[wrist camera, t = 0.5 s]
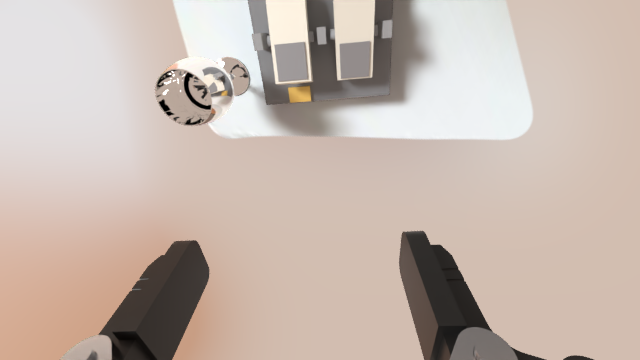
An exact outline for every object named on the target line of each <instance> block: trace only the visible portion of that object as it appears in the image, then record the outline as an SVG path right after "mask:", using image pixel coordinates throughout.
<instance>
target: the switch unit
mask: <svg viewBox="0 0 640 360" xmlns="http://www.w3.org/2000/svg"><path fill="white" fill-rule="evenodd" d="M306 1H307V13H308V26H309V31H313V35H314V42H310V50H311V63H312V75H313V82H308V83H297V84H285V85H277V84H276V83H275V75H274V66H273V58H272V50H271V46H268V44H267V36H269V35H270V33H269V25H268V16H267V8H266V0H248V4H249V10H250V15H251V21H252V26H253V32H254V34H252V38H253V43H254V49H255V51H257V54H258V59H259V65H260V70H261V76H262V81H263V87H264V92H265V98H266V103H267V105H270V104H283V103H285V104H287V103H299V102H311V101H323V100H336V99H348V98H360V97H371V96H380V95H389V90H390V63H391V38H392V22H393V20H392V9H393V0H375V16H374V25H378V35H377V36H374V44H373V71H372V77H371V78H360V79H348V80H337V68H336V48H335V40H331V39H330V29H335V28H334V8H333V0H306Z"/></svg>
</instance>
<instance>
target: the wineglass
mask: <svg viewBox="0 0 640 360" xmlns="http://www.w3.org/2000/svg"><path fill="white" fill-rule="evenodd" d="M248 85H249V74H248V71H247V69H246V67H245V66H244V65H243V63H241V62H240V61H239V60H237V59H235V58H233V57H223V58H221V59H219V60H218V61H217V62H215V61H213V60H210V59H207V58H203V57H188V58H185V59H181V60H179V61H177V62H176V63H174V64H172V65H171V66H170V67H168V68H167V69H166V70H165V71H164V72H163V73H162V74H161V76H160V77H159V78H158V80H157V82H156V87H155V94H156V98H157V102H158V104H159V106H160V108H161V109H162V111H163V112H164V113H165V114H166V115H167V116H168V117H169V118H171V119H172V120H173V121H175V122H177V123H179V124H181V125H185V126H197V125H202V124H208V123H211V122H214V121H216V120H218V119H220V118H221V117H222V116H224V115H225V114H226V113H227V112H228V110H229V109H230V107H231V105H232V103H233V100H234V96H237V95H240V94H242V93H243V92H245V90H246V89H247V87H248Z"/></svg>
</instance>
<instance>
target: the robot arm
mask: <svg viewBox="0 0 640 360" xmlns="http://www.w3.org/2000/svg"><path fill="white" fill-rule="evenodd" d="M399 266H400V273H401V278H402V281H403V285H404V289H405V292H406V296H407V299H408V303H409V306H410V310H411V313H412V317H413V321H414V324H415V328H416V331H417V335H418V338H419V342H420V345H421V349H422V353H423V356H424V360H545V359H542V358H538V357H535V356H532V355H528V354H525V353H522V352H520V351H517V350H515V349H513V348H512V347H510V346H509V345H508V343H507V342H506V341H504V340H503V339H502V338H501V337H499V336H498V335H497V334H495V333H493V332H492V330H491V329H490V327H489V326H488V324H487V322H486V320H485V318H484V317H483V315H482V313H481V311H480V309H479V307H478V305H477V303H476V301H475V299H474V297H473V295H472V293H471V291H470V290H469V288H468V286H467V284H466V282H464V278H463V276H462V274H461V272H460V271H459V270H458V266H457V265H456V263H455V261H454V259H453V257H452V255H451V254H450V253H449V252H448V251H446V250H445V249H444V248H443V247H442V246H441V245H430V242H429V240H428V238H427V236H426V234H425V232H424V231H412V232H403V233H402V238H401V248H400V258H399ZM208 279H209V267H208V264H207V262H206V260H205V257H204V255H203V253H202V250H201V248H200V246H199V244H198V242H197V241H194V240H193V241H176V242H174V243H173V244H172V245H171V247H170V248H169V249H168V251H167V252H166V254H165V255H162V256H160V257H159V258H157V259H156V260H155V261H154V262H153V263H152V264H151V265H149V266H148V267H147V269H146V270H145V271H144V273H143V274H142V276H141V277H140V280H139V281H137V282H136V284H135V285H134V287H133V288H132V291H130V292H129V294H128V295H127V296H126V298H125V299H124V300H123V302H122V303H121V305H120V306H119V307H118V309H117V310H116V311H115V313H114V314H113V316H112V317H111V318H110V320H109V321H108V322H107V324H106V325H105V327H104V328H103V329H102V331H101V332H100V333H99V335H96V336H92V337H89V338H87V339H85V340H83V341H81V342H79V343H78V344H76V345H75V346H74V347H72V348H71V349H70V350H69V351H68V352H67V353H66V354H65V355H64V356H63V357H62V358H61V359H60V360H172V358H173V357H174V354H175V352H176V350H177V348H178V345H179V343H180V341H181V339H182V337H183V335H184V333H185V330H186V328H187V326H188V324H189V322H190V319H191V317H192V315H193V313H194V310H195V309H196V306H197V304H198V302H199V300H200V298H201V295H202V293H203V291H204V289H205V287H206V285H207V282H208ZM563 360H593V359H590V358H587V357H583V356H569V357H567V358H565V359H563Z"/></svg>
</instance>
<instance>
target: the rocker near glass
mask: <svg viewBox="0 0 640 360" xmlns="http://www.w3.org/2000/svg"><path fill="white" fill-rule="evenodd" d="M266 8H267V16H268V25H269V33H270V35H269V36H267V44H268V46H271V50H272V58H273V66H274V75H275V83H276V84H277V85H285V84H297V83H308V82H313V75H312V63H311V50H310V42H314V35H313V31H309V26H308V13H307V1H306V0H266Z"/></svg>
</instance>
